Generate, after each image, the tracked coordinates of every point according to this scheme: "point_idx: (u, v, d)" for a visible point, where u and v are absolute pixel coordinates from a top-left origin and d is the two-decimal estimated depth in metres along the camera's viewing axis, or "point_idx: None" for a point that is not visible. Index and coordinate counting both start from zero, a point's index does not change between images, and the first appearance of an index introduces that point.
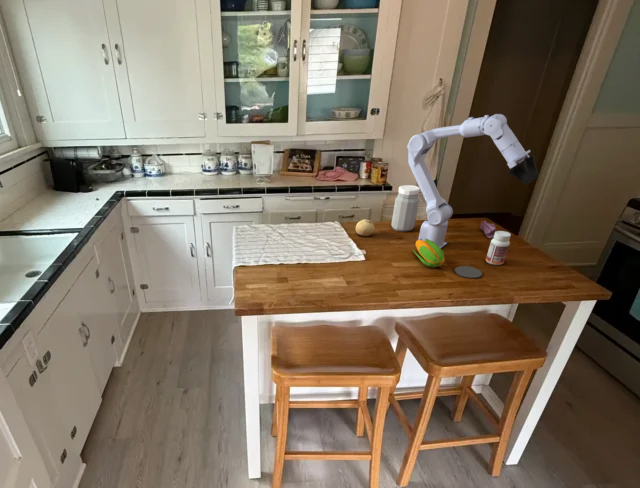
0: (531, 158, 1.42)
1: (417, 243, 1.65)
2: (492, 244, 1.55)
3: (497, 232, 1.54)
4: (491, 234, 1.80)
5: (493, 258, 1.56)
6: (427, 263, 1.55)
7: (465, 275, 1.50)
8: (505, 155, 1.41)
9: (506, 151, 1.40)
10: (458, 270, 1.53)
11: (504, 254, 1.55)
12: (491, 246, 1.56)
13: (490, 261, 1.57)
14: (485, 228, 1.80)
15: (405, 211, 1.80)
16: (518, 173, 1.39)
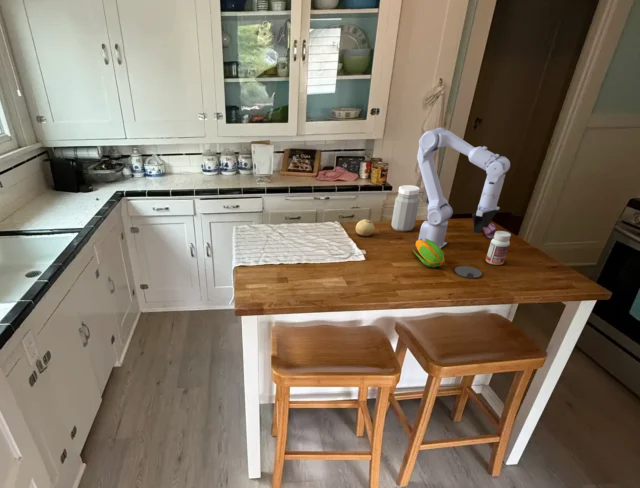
0: (495, 211, 1.56)
1: (417, 243, 1.65)
2: (492, 244, 1.55)
3: (497, 232, 1.54)
4: (491, 234, 1.80)
5: (493, 258, 1.56)
6: (427, 263, 1.55)
7: (465, 275, 1.50)
8: (482, 198, 1.52)
9: (485, 197, 1.50)
10: (458, 270, 1.53)
11: (504, 254, 1.55)
12: (491, 246, 1.56)
13: (490, 261, 1.57)
14: (485, 228, 1.80)
15: (405, 211, 1.80)
16: (477, 220, 1.54)
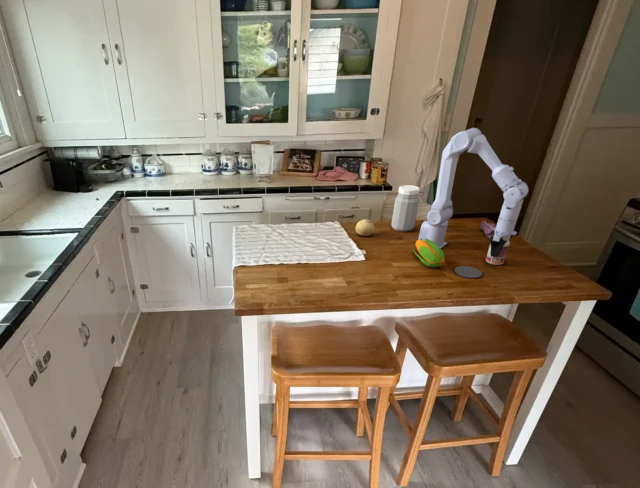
0: (511, 236, 1.55)
1: (417, 243, 1.65)
2: None
3: None
4: (491, 234, 1.80)
5: (493, 258, 1.56)
6: (427, 263, 1.55)
7: (465, 275, 1.50)
8: (499, 223, 1.50)
9: (503, 222, 1.49)
10: (458, 270, 1.53)
11: (504, 254, 1.55)
12: None
13: (490, 261, 1.57)
14: (485, 228, 1.80)
15: (405, 211, 1.80)
16: (494, 244, 1.53)
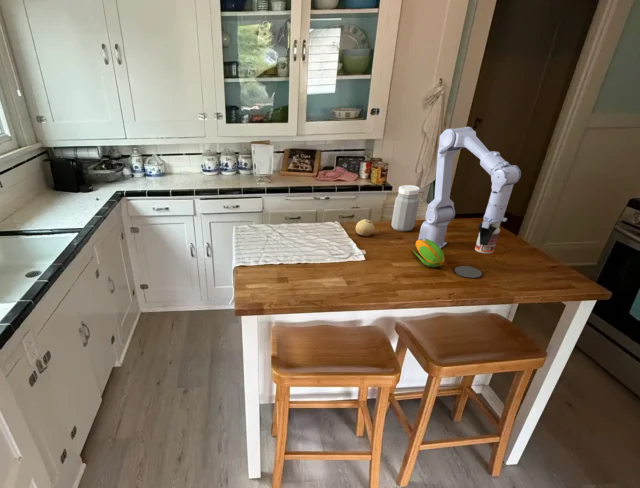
0: (501, 223, 1.47)
1: (417, 243, 1.65)
2: None
3: None
4: None
5: (483, 246, 1.48)
6: (427, 263, 1.55)
7: (465, 275, 1.50)
8: (488, 209, 1.43)
9: (492, 207, 1.41)
10: (458, 270, 1.53)
11: (494, 242, 1.47)
12: None
13: (479, 250, 1.50)
14: None
15: (405, 211, 1.80)
16: (484, 232, 1.45)
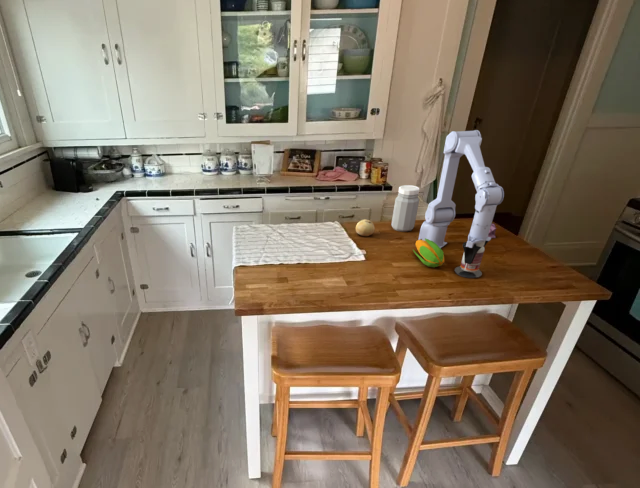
0: (486, 241, 1.47)
1: (417, 243, 1.65)
2: None
3: None
4: (491, 234, 1.80)
5: (468, 264, 1.49)
6: (427, 263, 1.55)
7: (465, 275, 1.50)
8: (473, 228, 1.43)
9: (476, 227, 1.42)
10: (458, 270, 1.53)
11: (479, 261, 1.47)
12: None
13: (464, 268, 1.50)
14: None
15: (405, 211, 1.80)
16: (468, 250, 1.46)
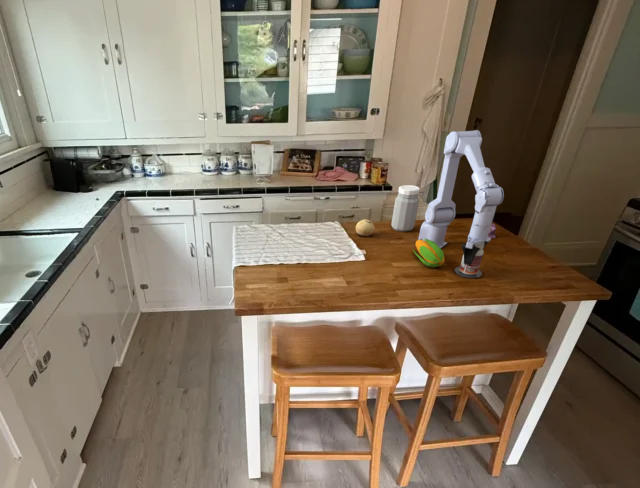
0: (486, 241, 1.48)
1: (417, 243, 1.65)
2: None
3: None
4: (491, 234, 1.80)
5: (467, 267, 1.49)
6: (427, 263, 1.55)
7: (465, 275, 1.50)
8: (472, 229, 1.43)
9: (476, 227, 1.42)
10: (458, 270, 1.53)
11: (478, 264, 1.48)
12: None
13: (464, 271, 1.51)
14: None
15: (405, 211, 1.80)
16: (467, 252, 1.46)
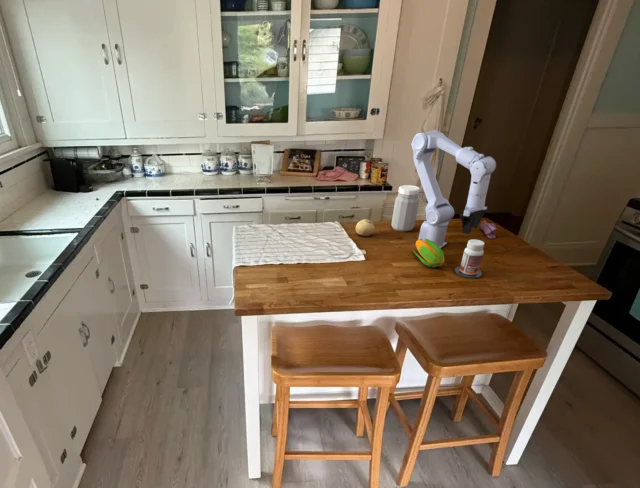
0: (483, 211, 1.56)
1: (417, 243, 1.65)
2: (465, 253, 1.48)
3: (470, 241, 1.47)
4: (491, 234, 1.80)
5: (467, 267, 1.49)
6: (427, 263, 1.55)
7: (465, 275, 1.50)
8: (469, 199, 1.52)
9: (472, 197, 1.51)
10: (458, 270, 1.53)
11: (478, 264, 1.48)
12: (464, 255, 1.49)
13: (464, 271, 1.51)
14: (485, 228, 1.80)
15: (405, 211, 1.80)
16: (465, 221, 1.54)
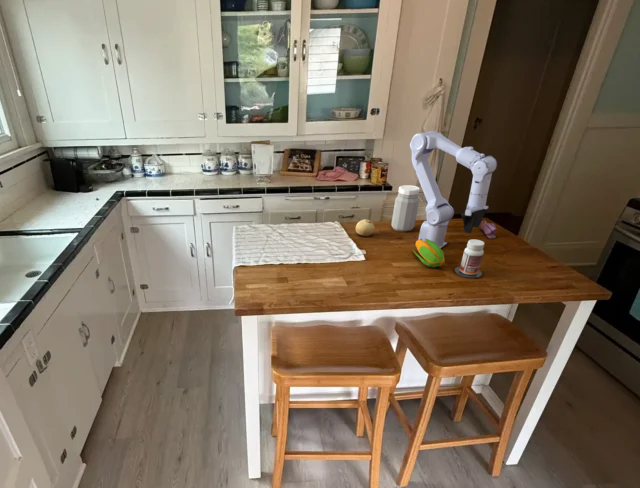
0: (484, 210, 1.57)
1: (417, 243, 1.65)
2: (465, 253, 1.48)
3: (470, 241, 1.47)
4: (491, 234, 1.80)
5: (467, 267, 1.49)
6: (427, 263, 1.55)
7: (465, 275, 1.50)
8: (470, 198, 1.53)
9: (473, 196, 1.51)
10: (458, 270, 1.53)
11: (478, 264, 1.48)
12: (464, 255, 1.49)
13: (464, 271, 1.51)
14: (485, 228, 1.80)
15: (405, 211, 1.80)
16: (467, 220, 1.55)
